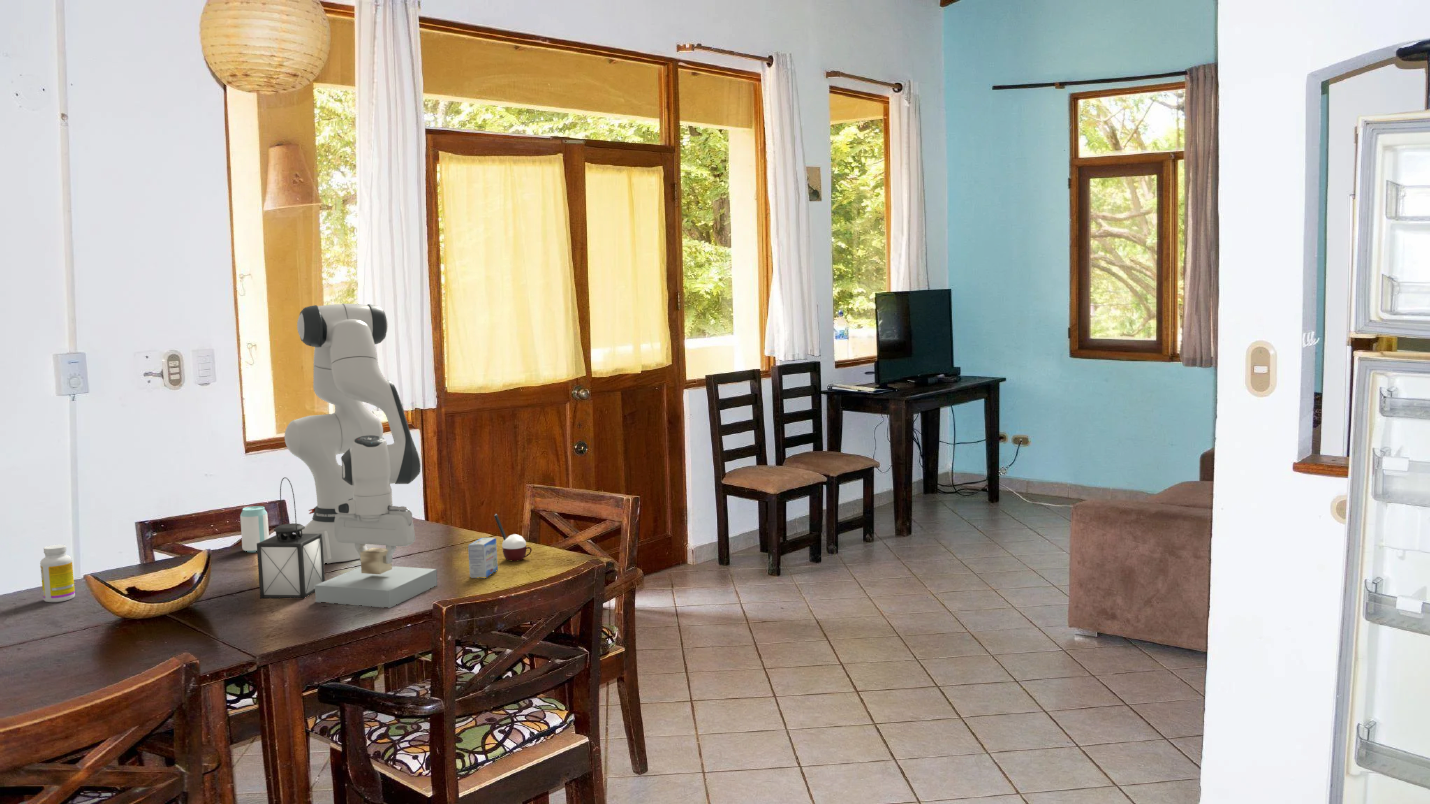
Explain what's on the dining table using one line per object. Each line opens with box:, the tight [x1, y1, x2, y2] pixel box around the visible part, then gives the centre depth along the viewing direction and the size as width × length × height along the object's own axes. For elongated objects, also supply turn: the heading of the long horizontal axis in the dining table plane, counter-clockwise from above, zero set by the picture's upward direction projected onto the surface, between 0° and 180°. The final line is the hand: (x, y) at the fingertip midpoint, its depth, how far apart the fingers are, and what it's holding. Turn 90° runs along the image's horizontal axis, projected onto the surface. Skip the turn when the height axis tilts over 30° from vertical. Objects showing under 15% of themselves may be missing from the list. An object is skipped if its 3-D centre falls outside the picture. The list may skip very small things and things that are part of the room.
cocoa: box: [493, 513, 533, 562], centre depth 305 cm, size 10×6×12 cm, turn 62°
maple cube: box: [360, 547, 393, 574], centre depth 274 cm, size 5×5×5 cm
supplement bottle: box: [39, 544, 76, 603], centre depth 275 cm, size 7×7×13 cm
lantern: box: [256, 477, 326, 599], centre depth 276 cm, size 11×11×28 cm
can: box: [239, 505, 270, 553], centre depth 322 cm, size 7×7×12 cm
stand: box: [314, 565, 438, 609], centre depth 275 cm, size 20×20×4 cm
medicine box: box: [467, 537, 499, 579], centre depth 290 cm, size 8×4×9 cm, turn 168°
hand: (376, 562), depth 274 cm, fingers closed on maple cube, 5 cm apart
